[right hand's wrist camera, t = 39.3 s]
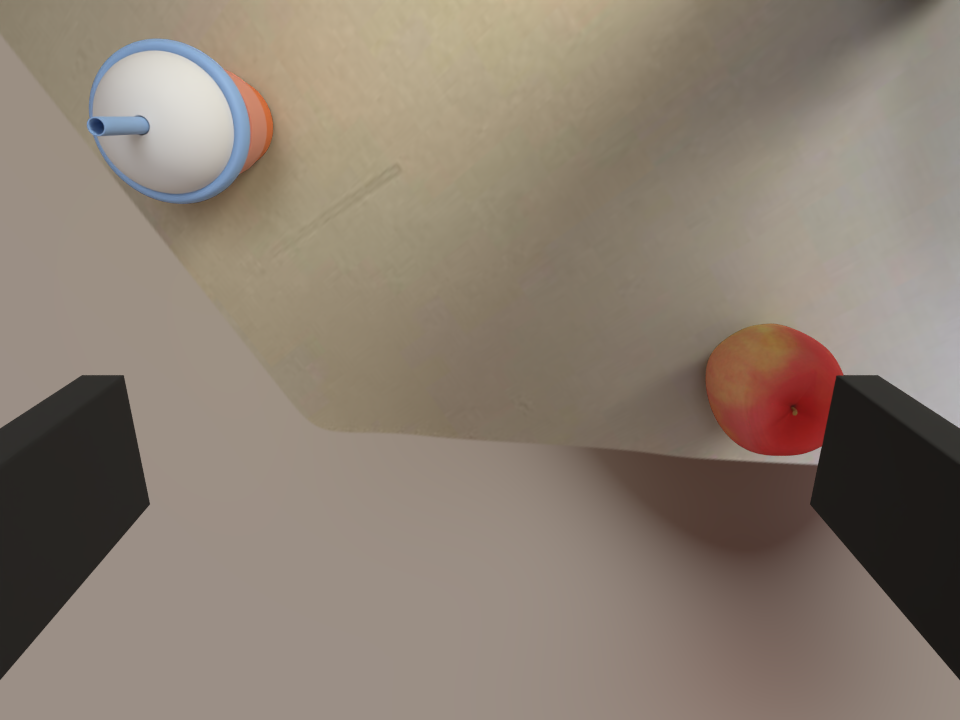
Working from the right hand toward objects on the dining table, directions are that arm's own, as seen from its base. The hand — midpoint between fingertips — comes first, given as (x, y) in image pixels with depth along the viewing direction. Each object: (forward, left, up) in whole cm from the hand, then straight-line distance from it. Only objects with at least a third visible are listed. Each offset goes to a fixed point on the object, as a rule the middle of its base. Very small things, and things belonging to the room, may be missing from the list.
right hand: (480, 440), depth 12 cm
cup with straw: (-5, -18, -40) cm, 44 cm away
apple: (+14, +22, -40) cm, 48 cm away
